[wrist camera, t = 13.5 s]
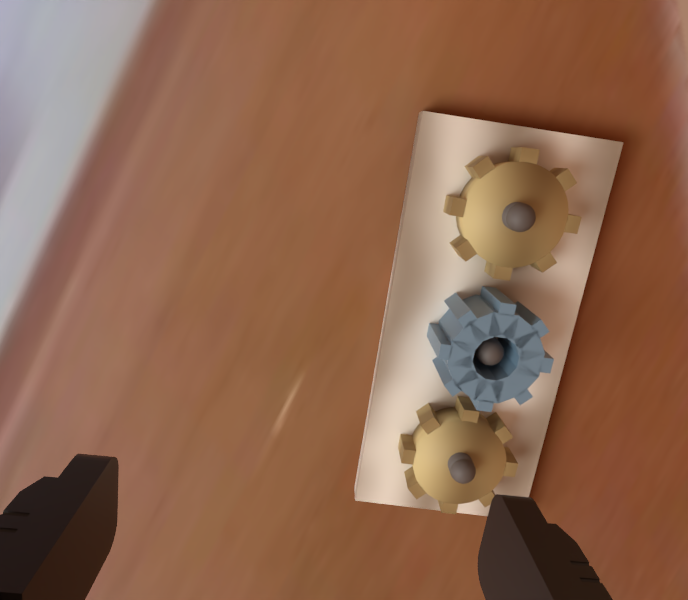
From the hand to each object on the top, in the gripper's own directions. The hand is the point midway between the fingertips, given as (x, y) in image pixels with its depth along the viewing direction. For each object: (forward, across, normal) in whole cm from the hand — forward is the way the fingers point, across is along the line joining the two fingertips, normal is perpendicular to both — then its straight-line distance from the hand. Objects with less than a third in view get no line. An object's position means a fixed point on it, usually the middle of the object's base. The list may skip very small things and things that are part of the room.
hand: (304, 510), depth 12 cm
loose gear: (+23, -11, +3) cm, 25 cm away
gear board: (+24, -11, +3) cm, 27 cm away
